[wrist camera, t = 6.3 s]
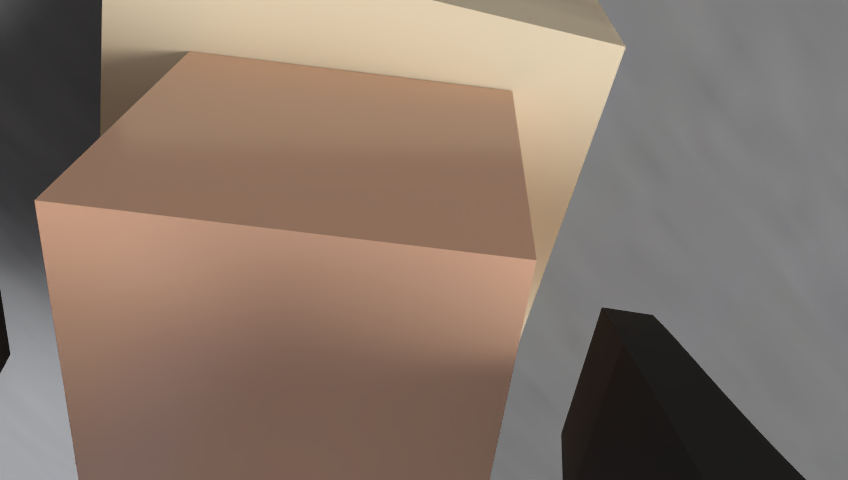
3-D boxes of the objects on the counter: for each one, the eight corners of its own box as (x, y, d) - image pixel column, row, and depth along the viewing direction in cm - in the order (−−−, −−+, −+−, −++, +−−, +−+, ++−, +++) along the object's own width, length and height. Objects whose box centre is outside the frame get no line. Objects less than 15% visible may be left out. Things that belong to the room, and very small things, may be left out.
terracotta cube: (468, 346, 13) (467, 581, 9) (200, 315, 13) (87, 538, 9) (512, 90, 11) (536, 260, 7) (188, 51, 11) (34, 200, 7)
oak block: (486, 323, 17) (489, 422, 14) (156, 252, 16) (96, 342, 14) (594, -6, 13) (626, 46, 11) (178, -108, 13) (103, -80, 10)
